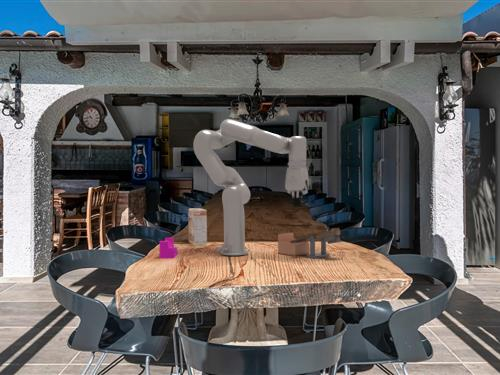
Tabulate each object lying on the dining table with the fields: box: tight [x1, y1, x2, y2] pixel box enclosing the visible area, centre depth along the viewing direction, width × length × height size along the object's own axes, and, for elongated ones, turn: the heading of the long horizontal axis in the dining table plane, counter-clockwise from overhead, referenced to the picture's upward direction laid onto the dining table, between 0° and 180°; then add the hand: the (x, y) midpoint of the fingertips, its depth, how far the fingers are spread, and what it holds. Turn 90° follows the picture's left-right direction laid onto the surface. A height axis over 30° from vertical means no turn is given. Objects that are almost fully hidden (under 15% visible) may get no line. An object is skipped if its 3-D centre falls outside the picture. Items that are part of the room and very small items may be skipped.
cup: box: [277, 232, 310, 257], centre depth 217 cm, size 10×10×9 cm
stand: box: [305, 236, 331, 260], centre depth 206 cm, size 10×5×10 cm, turn 134°
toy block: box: [158, 237, 179, 259], centre depth 214 cm, size 15×6×8 cm, turn 0°
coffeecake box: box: [187, 207, 208, 247], centre depth 244 cm, size 15×7×20 cm, turn 17°
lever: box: [290, 227, 342, 244], centre depth 204 cm, size 13×20×6 cm, turn 44°
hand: (297, 206), depth 206 cm, fingers closed
